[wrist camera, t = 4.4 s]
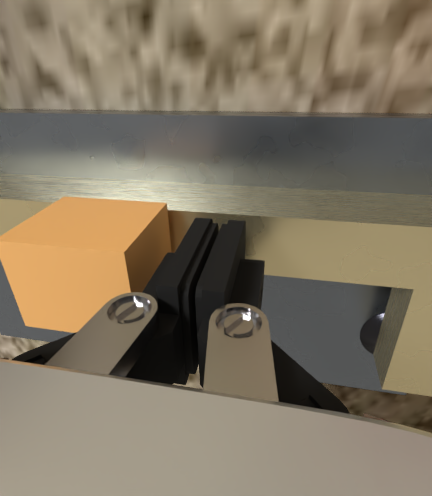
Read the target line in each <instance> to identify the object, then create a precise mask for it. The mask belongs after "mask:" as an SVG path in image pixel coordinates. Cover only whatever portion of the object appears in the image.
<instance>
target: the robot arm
mask: <svg viewBox="0 0 432 496" xmlns="http://www.w3.org/2000/svg"><path fill="white" fill-rule="evenodd" d="M245 239H246V221H240V220H229V221H228V223H227V224H222V225H221V228H220V230H219V226H218V223H213V220H212V219H209V218H195V219H194V221H193V223H192V224H191V226H190V228H189V229H188V231H187V233H186V234H185V236H184V238H183V239H182V241H181V243H180V245H179V246H178V248H177V250H176V251H175V253H171V252H169V253H167V254H166V255H165V257H164V258H163V260H162V261H161V263H160V265H159V266H158V268H157V269H156V271H155V272H154V274H153V276H152V277H151V279H150V280H149V282H148V284H147V285H146V287H145V288H144V290H143V292H142V293H141V292H131V293H125V294H121V295H118V296H116V297H114V298H112V299H111V300H110V301H108V302H107V303H106V304H105V305H104V306H103V307H102V308H101V309H100V310H99V311H98V312H97V313H96V314H95V315H94V316H93V317H92V318H91V319H90V320H89V321H88V322H87V323H86V324H85V325H84V326H83V327H82V328H81V329H80V330H79V331H78V332H76V333H73V334H71V335H68V336H65V337H63V338H60V339H58V340H55V341H53V342H50V343H48V344H45V345H43V346H40V347H38V348H35V349H33V350H30V351H27V352H25V353H23V354H21V355H19V356H17V357H15V358H13V359H12V360H9V359H8V358H0V496H432V433H430V432H426V431H423V430H419V429H416V428H412V427H408V426H405V425H401V424H397V423H392V422H389V421H387V420H384V419H381V418H378V417H375V416H372V415H369V414H367V413H364V415H363V417H362V416H357V415H354V414H351V413H349V412H348V410H347V408H346V407H345V406H344V405H343V403H342V402H341V401H340V400H339V399H338V398H337V397H336V396H334V395H333V394H332V393H331V392H330V391H329V390H328V389H326V388H325V387H324V386H323V385H322V384H321V383H320V382H318V381H317V380H316V379H315V378H314V377H313V376H312V375H311V374H309V373H308V372H307V371H306V370H305V369H304V368H303V367H301V366H300V365H299V364H298V363H297V362H296V361H295V360H293V359H292V358H291V357H290V356H289V355H288V354H287V353H285V352H284V351H283V350H282V349H281V348H280V347H279V346H278V345H276V344H275V343H274V342H273V341H272V340H271V338H270V331H269V323H268V320H267V317H266V315H265V314H264V313H263V312H262V311H261V306H262V296H263V284H264V267H265V261H264V260H253V259H245ZM198 364H199V373H200V385H201V386H202V387H203V390H202V389H196V388H190V387H183V386H177V385H172V384H173V383H176V384H183V385H186V383H187V380H188V376H189V373H190V374H195V373H196V371H197V367H198Z"/></svg>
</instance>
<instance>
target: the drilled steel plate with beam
mask: <svg viewBox="0 0 432 496" xmlns="http://www.w3.org/2000/svg"><path fill="white" fill-rule="evenodd" d="M64 196H65V197H81V198H97V199H113V200H129V201H145V202H161V203H167V210H168V221H169V231H170V242H171V253H175V251H176V250H177V248H178V246H179V245H180V243H181V241H182V239H183V238H184V236H185V234H186V233H187V231H188V229H189V228H190V226H191V224H192V223H193V221H194V219H195V218H209V219H212V220H213V223H218V226H219V230H220V228H221V225H222V224H227V223H228V221H229V220H240V221H246V239H245V259H253V260H264V261H265V267H264V284H263V296H262V306H261V311H262V312H263V313H264V314H265V315H266V317H267V320H268V323H269V331H270V338H271V340H272V341H273V342H274V343H275V344H276V345H278V346H279V347H280V348H281V349H282V350H283V351H284V352H285V353H287V354H288V355H289V356H290V357H291V358H292V359H293V360H295V361H296V362H297V363H298V364H299V365H300V366H301V367H303V368H304V369H305V370H306V371H307V372H308V373H309V374H311V375H312V376H313V377H314V378H315V379H316V380H317V381H318V382H321V383H327V384H334V385H341V386H347V387H354V388H361V389H367V390H374V391H381V392H387V393H394V394H401V395H406V393H411V394H418V395H424V396H431V397H432V114H389V113H299V112H208V111H118V110H27V109H0V236H1V235H3V234H4V233H6V232H8V231H9V230H11V229H12V228H14V227H16V226H17V225H19V224H20V223H22V222H24V221H25V220H27V219H28V218H30V217H32V216H33V215H35V214H37V213H38V212H40V211H41V210H43V209H45V208H46V207H48V206H49V205H51V204H53V203H54V202H56V201H57V200H59V199H61V198H62V197H64ZM0 333H1V335H7V336H14V337H20V338H27V339H34V340H41V341H47V342H53V341H55V340H58V339H60V338H63V337H65V336H68V335H71V334H73V333H71V332H64V331H57V330H50V329H43V328H36V327H29V326H25V323H24V321H23V318H22V315H21V313H20V310H19V307H18V305H17V302H16V299H15V297H14V294H13V291H12V289H11V286H10V283H9V281H8V278H7V276H6V273H5V270H4V268H3V265H2V262H1V260H0Z"/></svg>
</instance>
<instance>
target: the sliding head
mask: <svg viewBox="0 0 432 496" xmlns="http://www.w3.org/2000/svg"><path fill="white" fill-rule="evenodd" d="M169 252H171V242H170V231H169V221H168V210H167V203H161V202H145V201H129V200H113V199H97V198H81V197H65V196H64V197H62V198H61V199H59V200H57V201H56V202H54V203H53V204H51V205H49V206H48V207H46V208H45V209H43V210H41V211H40V212H38V213H37V214H35V215H33V216H32V217H30V218H28V219H27V220H25V221H24V222H22V223H20V224H19V225H17V226H16V227H14V228H12V229H11V230H9V231H8V232H6V233H4V234H3V235H1V236H0V260H1V262H2V265H3V268H4V270H5V273H6V276H7V278H8V281H9V283H10V286H11V289H12V291H13V294H14V297H15V299H16V302H17V305H18V307H19V310H20V313H21V315H22V318H23V321H24V323H25V326H29V327H36V328H43V329H50V330H57V331H64V332H71V333H76V332H78V331H79V330H80V329H81V328H82V327H83V326H84V325H85V324H86V323H87V322H88V321H89V320H90V319H91V318H92V317H93V316H94V315H95V314H96V313H97V312H98V311H99V310H100V309H101V308H102V307H103V306H104V305H105V304H106V303H107V302H108V301H110V300H111V299H112V298H114V297H116V296H118V295H121V294H125V293H131V292H141V293H142V292H143V290H144V288H145V287H146V285H147V284H148V282H149V280H150V279H151V277H152V276H153V274H154V272H155V271H156V269H157V268H158V266H159V265H160V263H161V261H162V260H163V258H164V257H165V255H166V254H167V253H169Z"/></svg>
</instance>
